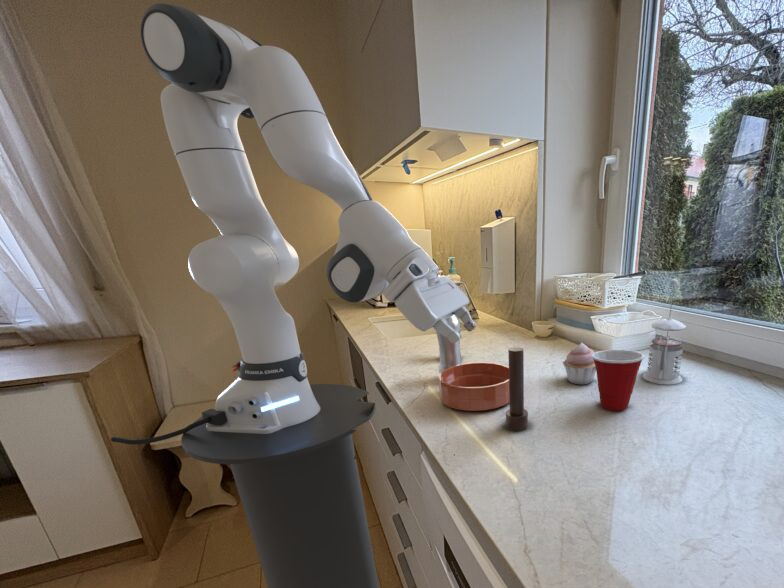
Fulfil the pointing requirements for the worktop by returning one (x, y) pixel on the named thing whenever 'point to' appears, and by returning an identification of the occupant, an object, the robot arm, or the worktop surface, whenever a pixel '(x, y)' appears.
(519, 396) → the stirring stick
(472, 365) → the bowl
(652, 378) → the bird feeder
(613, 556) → the worktop surface
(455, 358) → the silver elongated piece
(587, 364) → the cupcake
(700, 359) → the worktop surface
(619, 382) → the plastic cup
